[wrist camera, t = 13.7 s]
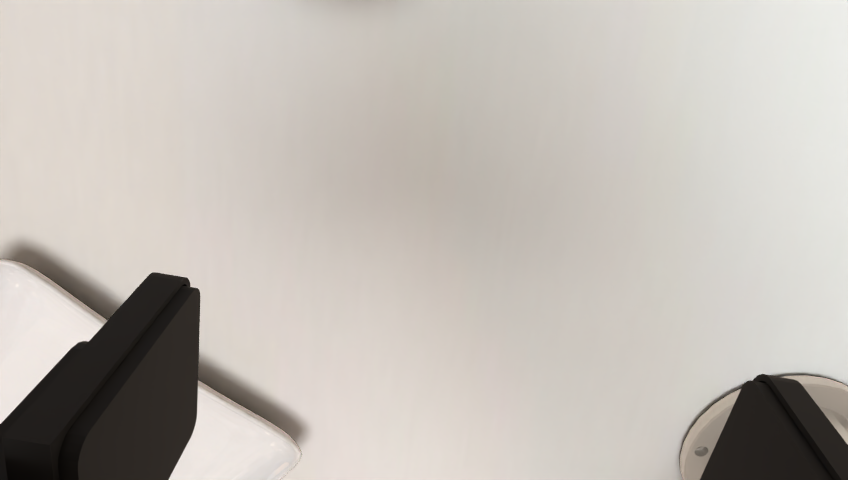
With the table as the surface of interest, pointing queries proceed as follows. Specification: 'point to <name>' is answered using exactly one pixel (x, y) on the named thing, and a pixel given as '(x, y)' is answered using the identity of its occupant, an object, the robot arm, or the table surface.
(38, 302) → the salad plate
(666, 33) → the table surface
